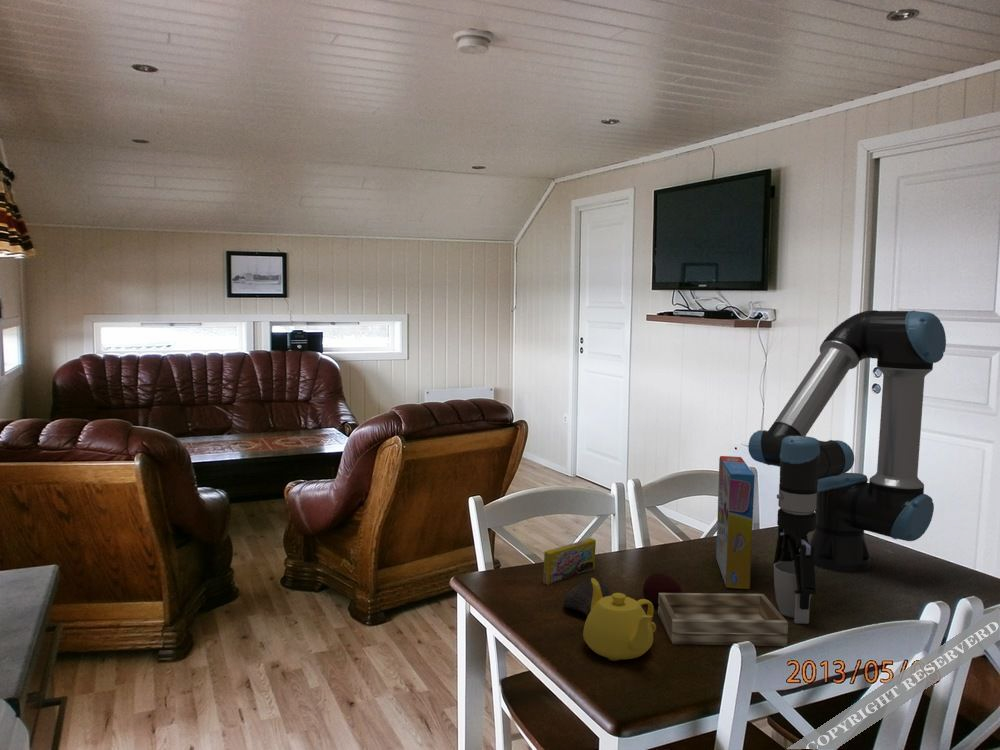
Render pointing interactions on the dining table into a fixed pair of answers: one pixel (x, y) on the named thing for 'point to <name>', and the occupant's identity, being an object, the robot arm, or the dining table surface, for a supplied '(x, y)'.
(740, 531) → the game box
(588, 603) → the stone
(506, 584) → the dining table surface
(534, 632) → the dining table surface
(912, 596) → the dining table surface
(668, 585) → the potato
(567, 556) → the candy box
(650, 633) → the teapot
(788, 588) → the cup
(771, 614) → the tray
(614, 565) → the dining table surface
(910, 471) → the robot arm
